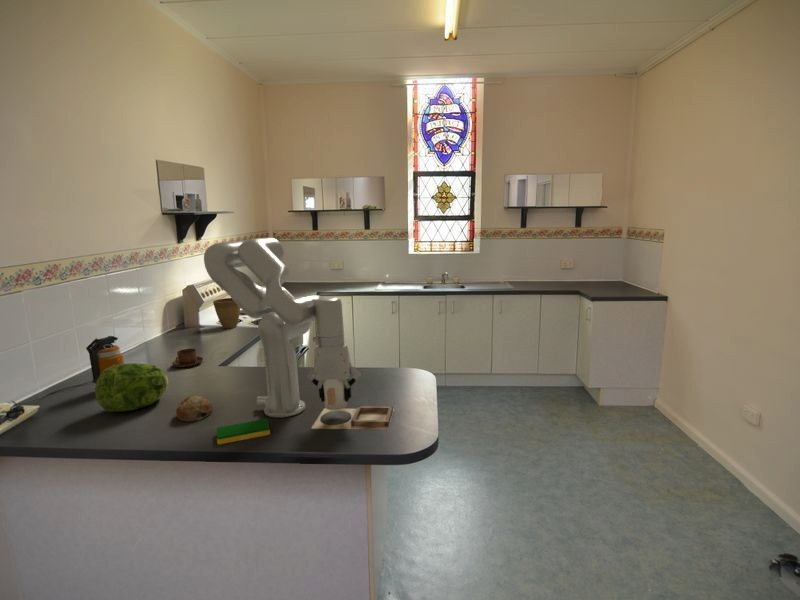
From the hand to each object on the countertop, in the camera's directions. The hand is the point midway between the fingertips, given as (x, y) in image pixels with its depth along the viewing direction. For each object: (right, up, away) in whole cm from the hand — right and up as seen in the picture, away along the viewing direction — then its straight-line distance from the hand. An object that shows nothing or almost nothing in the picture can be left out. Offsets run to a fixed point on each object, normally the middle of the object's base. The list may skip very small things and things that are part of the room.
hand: (335, 399), depth 138 cm
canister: (-87, -4, +35) cm, 94 cm away
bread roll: (-46, -7, +10) cm, 47 cm away
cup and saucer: (-71, +1, +63) cm, 95 cm away
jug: (0, -2, -1) cm, 2 cm away
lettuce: (-68, -6, +19) cm, 71 cm away
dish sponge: (-25, -9, -4) cm, 27 cm away
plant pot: (-79, +13, +132) cm, 154 cm away
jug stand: (+5, -7, +1) cm, 9 cm away
